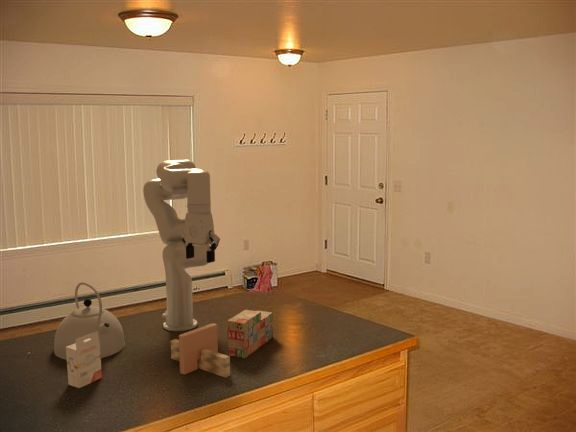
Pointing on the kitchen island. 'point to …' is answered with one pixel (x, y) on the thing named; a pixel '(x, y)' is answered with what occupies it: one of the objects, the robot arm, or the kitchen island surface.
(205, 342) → the terracotta slotted plate
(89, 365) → the ink cartridge box
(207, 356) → the oak notched board
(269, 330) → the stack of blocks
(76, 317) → the kettle
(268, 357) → the kitchen island surface
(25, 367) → the kitchen island surface
